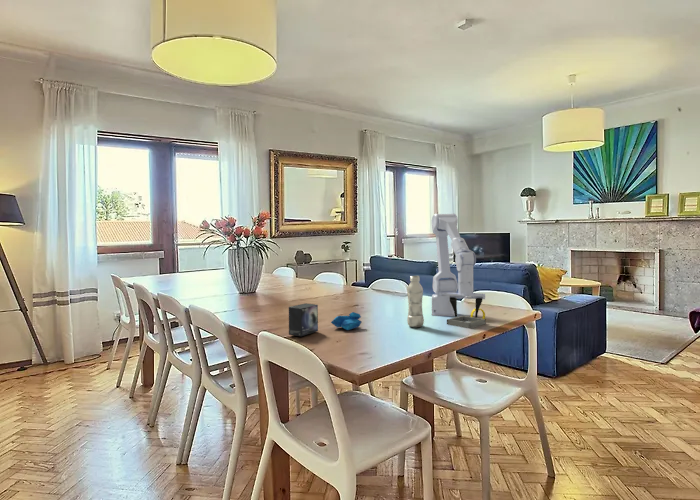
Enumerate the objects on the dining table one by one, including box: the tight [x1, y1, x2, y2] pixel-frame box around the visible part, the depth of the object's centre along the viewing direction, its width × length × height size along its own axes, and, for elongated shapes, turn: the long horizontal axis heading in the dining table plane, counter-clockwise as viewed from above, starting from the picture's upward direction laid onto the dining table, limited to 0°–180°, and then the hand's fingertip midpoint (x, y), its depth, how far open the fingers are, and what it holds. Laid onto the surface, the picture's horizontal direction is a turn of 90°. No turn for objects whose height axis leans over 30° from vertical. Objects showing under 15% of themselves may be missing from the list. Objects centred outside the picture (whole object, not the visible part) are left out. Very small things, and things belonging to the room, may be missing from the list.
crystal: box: [330, 311, 362, 331], centre depth 170 cm, size 7×9×12 cm
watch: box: [470, 307, 486, 319], centre depth 177 cm, size 6×3×6 cm, turn 104°
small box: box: [288, 303, 319, 337], centre depth 164 cm, size 11×6×10 cm, turn 148°
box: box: [446, 315, 487, 330], centre depth 171 cm, size 11×11×2 cm
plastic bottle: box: [406, 275, 425, 328], centre depth 170 cm, size 6×7×20 cm
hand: (466, 317), depth 171 cm, fingers open, 7 cm apart
